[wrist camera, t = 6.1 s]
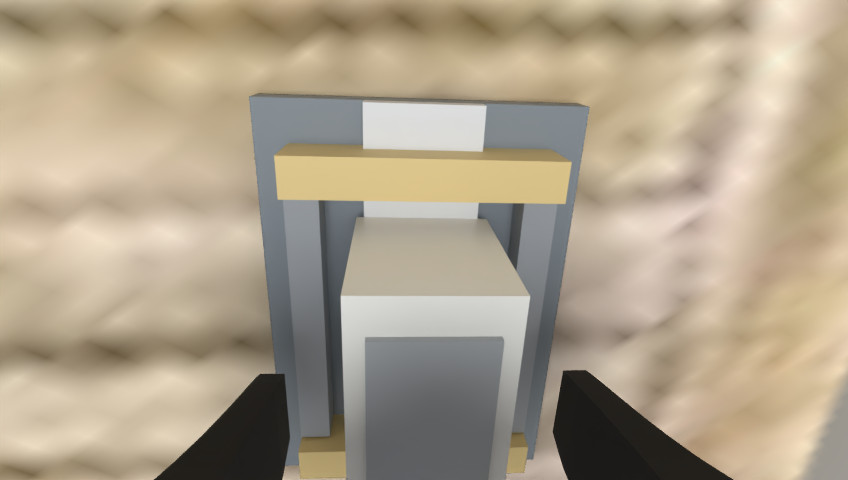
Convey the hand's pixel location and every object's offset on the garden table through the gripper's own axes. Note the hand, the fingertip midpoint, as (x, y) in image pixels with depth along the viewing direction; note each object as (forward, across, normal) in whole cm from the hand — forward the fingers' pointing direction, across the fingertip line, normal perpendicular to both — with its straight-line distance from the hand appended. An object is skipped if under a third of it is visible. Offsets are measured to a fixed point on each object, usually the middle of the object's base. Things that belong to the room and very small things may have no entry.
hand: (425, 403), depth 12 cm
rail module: (+4, 0, 0) cm, 4 cm away
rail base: (+6, 0, 0) cm, 6 cm away
